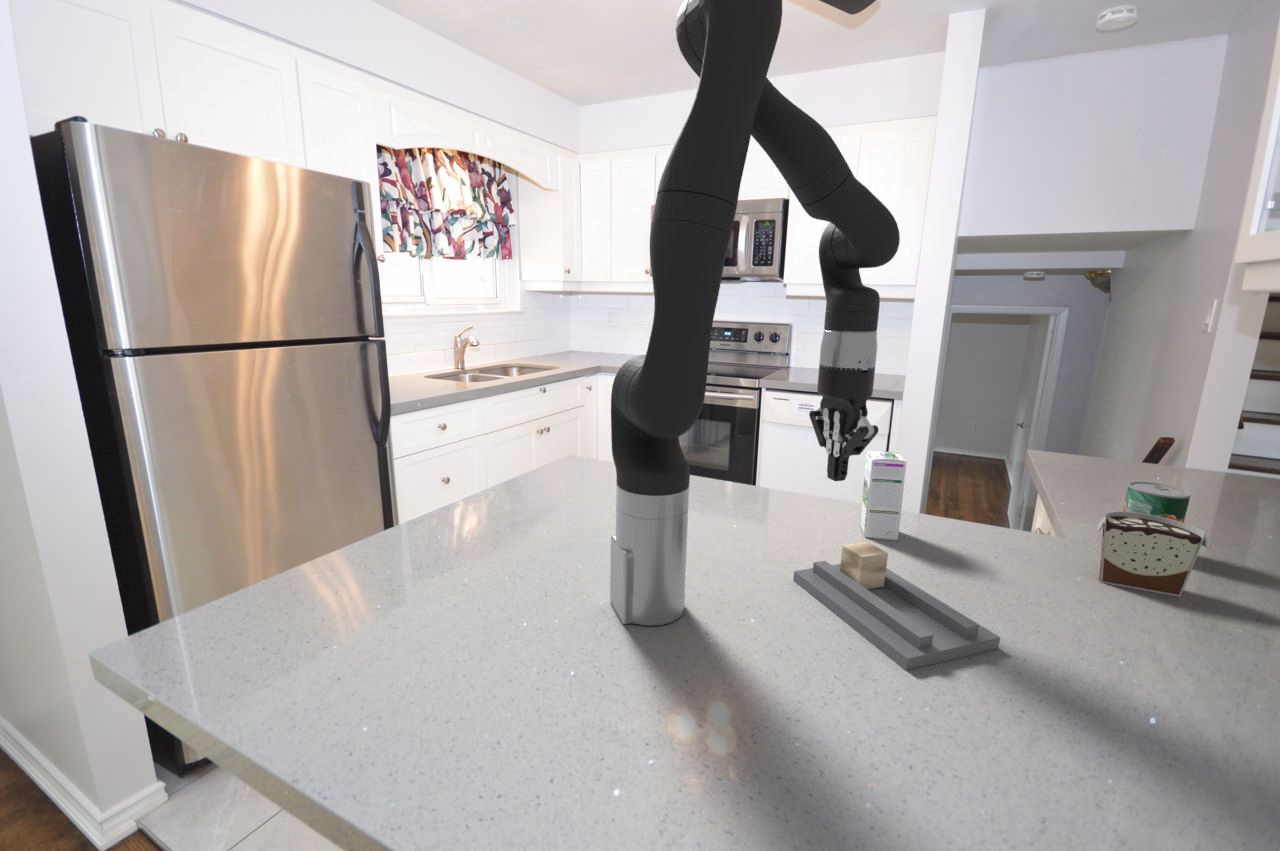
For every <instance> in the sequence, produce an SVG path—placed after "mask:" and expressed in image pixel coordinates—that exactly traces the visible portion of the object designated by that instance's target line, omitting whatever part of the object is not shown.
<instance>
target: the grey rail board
mask: <svg viewBox="0 0 1280 851" xmlns="http://www.w3.org/2000/svg"><path fill="white" fill-rule="evenodd" d="M840 564H841V563H837V564H831V563H829V562H828V561H826V560H821V561H820V560H819V561H815V562H814V561H813V564H812V567H811V568H806V569H799V570H798V569H797V570H794V571H793V581H794V582H795V583H796V584H797V585H798V586H800V587H801V588H802V589H803V590H805V591H806V592H807V593H808V594H810V595H811V596H812V597H813V598H815V599H816V600H817V601H818V602H820V603H821V605H823V606H824V607H826V608H828V610H829V611H831V612H832V613H833V614H835V615H836V616H837V617H838V618H840V619H841V620H842V621H844V623H846V624H847V625H848V626H849V627H851V628H852V629H854V630H855V631H856V632H857V633H858V634H860V635H861V636H862V637H864V638H865V639H866V640H867V641H868V642H870V643H871V644H873V646H875V647H876V648H877V649H878V650H879V651H881V652H882V653H884V655H886V656H887V657H888V658H890V659H891V660H892V661H893V662H894V663H896V664H897V665H898V666H900V667H901V668H902V669H903V670H905V671H909V670H914V669H918V668H922V667H926V666H927V667H928V666H930V665H934V664H939V663H943V662H947V661H951V660H955V659H960V658H964V657H968V656H969V657H970V656H972V655H977V654H981V653H985V652H989V651H993V650H997V649H999V648H1000V641H1001V637H1000V636H999V635H997V634H996V633H995V632H992V631H991V630H989V629H987V628H986V627H984V626H982V625H981V624H979V622H976V621H974V620H973V619H971V618H969V617H968V616H966V615H965V614H962V613H961V612H959V611H958V610H956V609H955V608H953V607H951V606H949V605H948V604H947V603H945V602H943V601H942V600H940V599H938V598H937V597H935V596H934V595H932V594H930V593H929V592H927V591H925V590H923V589H922V588H920V587H919V586H917V585H915V584H913V583H911V582H910V581H908V580H907V579H905V578H903V577H902V576H900V575H898V574H897V573H895V572H893V571H892V570H891V569H889V568H887V567H886V574H885V582H884V587H878V588H872V589H866V588H864V587H863V586H861V585H860V584H859V583H857V582H856V581H854V580H853V579H851V578H850V577H848V576H847V575H845V574H844V573H842V572H841V571H840Z"/></svg>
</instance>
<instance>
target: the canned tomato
mask: <svg viewBox="0 0 1280 851" xmlns="http://www.w3.org/2000/svg"><path fill="white" fill-rule="evenodd" d="M1191 497H1192V494H1191V493H1190V492H1189V491H1188V490H1185V489H1182V488H1180V487H1177V486H1176V487H1175V486H1172V485H1168V484H1163V483H1159V482H1157V483H1156V482H1152V481H1151V482H1149V481H1131V482H1129V483H1128V487H1127V491H1126V497H1125V501H1124V505H1123V509H1122V512H1135V513H1142V514H1149V515H1154V516H1159V517H1164V518H1168V519H1172V520H1175V521H1179V522H1182V523H1185V519H1186V515H1187V512H1188V507H1189V503H1190V498H1191Z"/></svg>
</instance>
